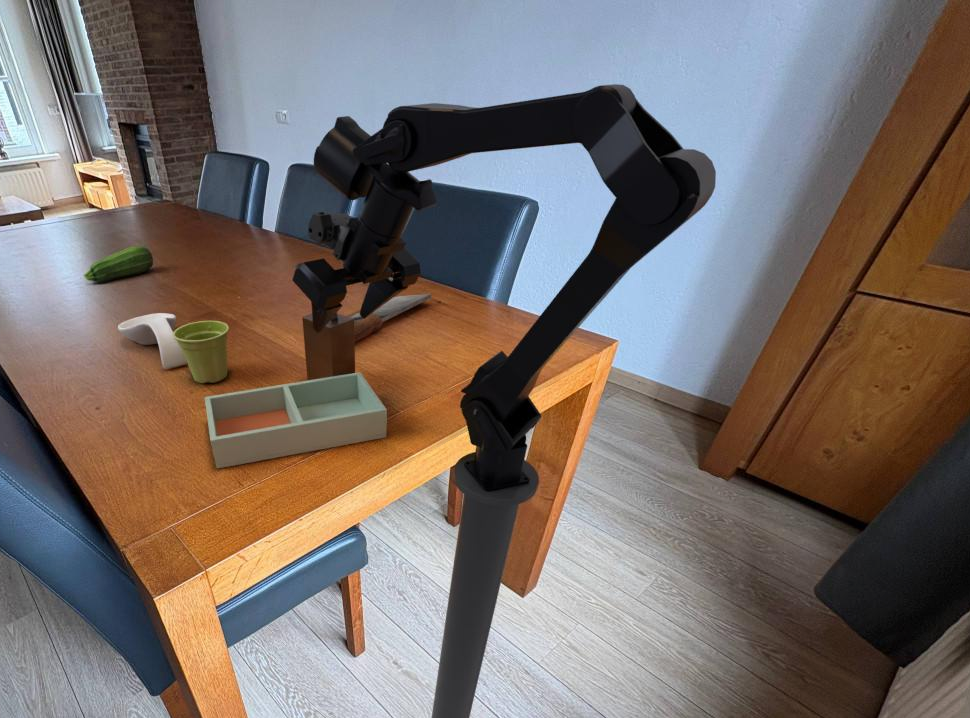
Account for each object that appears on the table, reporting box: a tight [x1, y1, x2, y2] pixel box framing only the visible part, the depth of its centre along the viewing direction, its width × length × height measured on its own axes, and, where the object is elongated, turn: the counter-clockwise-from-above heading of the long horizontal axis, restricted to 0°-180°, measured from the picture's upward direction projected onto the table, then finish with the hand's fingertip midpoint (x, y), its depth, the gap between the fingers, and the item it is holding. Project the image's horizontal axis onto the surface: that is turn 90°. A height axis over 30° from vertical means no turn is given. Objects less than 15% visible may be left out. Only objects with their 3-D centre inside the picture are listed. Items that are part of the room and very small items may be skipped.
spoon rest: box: [117, 312, 188, 370], centre depth 101 cm, size 24×12×7 cm, turn 32°
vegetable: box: [83, 245, 154, 284], centre depth 144 cm, size 7×7×20 cm
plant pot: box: [173, 320, 230, 384], centre depth 89 cm, size 9×9×9 cm
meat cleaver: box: [349, 293, 432, 343], centre depth 109 cm, size 34×11×4 cm, turn 140°
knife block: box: [301, 312, 356, 381], centre depth 84 cm, size 5×7×13 cm
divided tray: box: [204, 371, 388, 469], centre depth 75 cm, size 13×24×5 cm, turn 105°
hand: (340, 323), depth 73 cm, fingers open, 9 cm apart
